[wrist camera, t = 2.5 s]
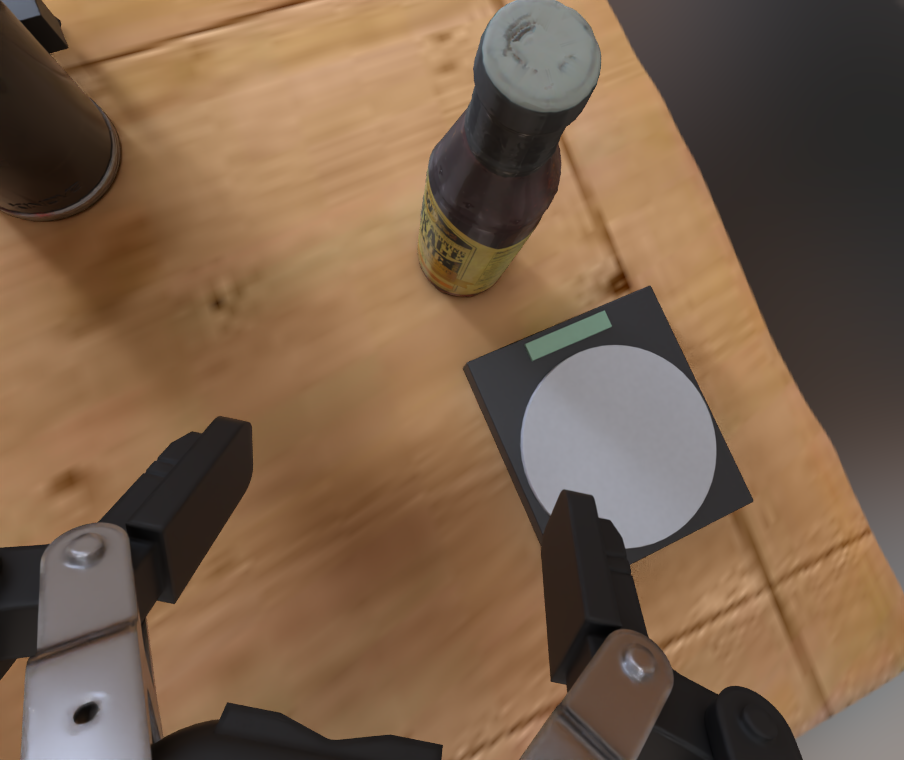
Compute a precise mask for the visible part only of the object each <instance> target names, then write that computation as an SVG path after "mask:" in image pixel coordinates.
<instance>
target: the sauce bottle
mask: <svg viewBox="0 0 904 760" xmlns="http://www.w3.org/2000/svg"><path fill="white" fill-rule="evenodd" d="M600 69H601V52H600V48H599V45H598V43H597V41H596V39H595V36H594V33H593V31H592V29H591V27H590V25H589V24H588V23H587V21H586V20H585V19H584V18H583V17H582V16H581V15H580V14H579V13H578V12H577V11H575V10H574V9H572V8H569V7H567V6H565V5H563V4H562V3H560V2H558V1H556V0H516V1H514V2H511V3H509V4H506V5H505V6H504V7H503V8H501V9H500V10H499V11H498V12H497V13H496V14H495V15H494V17H493V18H492V19H491V20H490V22H489V23H488V25H487V27H486V29H485V31H484V33H483V34H482V36H481V40H480V44H479V47H478V50H477V54H476V57H475V61H474V67H473V71H474V82H475V87H474V90H473V94H472V99H471V102H470V104H469V106H468V108H467V109H466V110H465V111H464V113H463V114H462V115H461V116H460V117H459V119H458V120H457V121H456V122H455V124H454V125H453V126H452V127H451V128H450V130H449V131H448V132H447V133H446V135H445V136H444V137H443V138H442V139H441V141H440V142H439V143H438V144H437V145H436V146H435V148H434V149H433V151H432V153H431V156H430V159H429V164H428V170H427V174H426V176H427V177H426V185H425V192H424V197H423V203H422V211H421V222H420V229H419V237H418V248H417V249H418V257H419V261H420V265H421V269H422V270H423V272H424V274H425V275H426V277H427V278H428V280H429V281H430V282H431V283H432V284H433V285H434V286H435V287H436V288H437V289H438V290H439V291H441V292H444V293H447V294H450V295H454V296H465V297H469V296H474V295H476V294H478V293H480V292H482V291H484V290H486V289H488V288H490V287H492V286H493V285H494V284H495V283H496V282H497V280H498V279H499V278H500V277H501V275H502V274H503V273H504V271H505V270H506V268H507V267H508V266H509V264H510V263H511V261H512V260H513V259H514V257H515V256H516V255H517V253H518V252H519V251H520V249H521V248H522V246H523V245H524V244H525V242H526V241H527V239H528V238H529V237H530V235H531V234H532V232H533V231H534V230H535V228H536V227H537V225H538V224H539V222H540V220H541V218H542V215H543V214H544V212H545V211H546V210H547V209H548V207H549V205H550V203H551V202H552V200H553V198H554V195H555V194H556V193H557V191H558V185H559V181H560V175H561V155H560V148H559V145H558V142H559V140H560V137H561V135H562V133H563V131H564V130H565V128H566V126H568V125H570V124H571V123H572V122H573V121H574V120H575V119H576V118H577V117H578V115H579V114H580V113H581V112H582V110H583V109H584V107H585V105H586V104H587V102H588V100H589V98H590V96H591V94H592V92H593V90H594V89H595V87H596V85H597V81H598V78H599V75H600Z"/></svg>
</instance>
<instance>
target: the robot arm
mask: <svg viewBox="0 0 904 760" xmlns="http://www.w3.org/2000/svg"><path fill="white" fill-rule="evenodd" d="M67 48H68V45H67V42H66V40H65V37H64V35H63V32H62V30H61V22H60V20H59V19H58V18H56V17H55V16H54V15H53V14H52V13H51V12H50V10H49V9H48V8H47V7H46V5H45V4H44V3H43V2H42V0H0V210H1V211H2V212H4V213H7V214H9V215H11V216H14V217H17V218H21V219H26V220H33V221H50V220H57V219H62V218H66V217H69V216H72V215H74V214H77V213H79V212H81V211H83V210H85V209H86V208H88V207H90V206H91V205H92V204H94V203H95V202H96V201H97V200H98V199H100V198H101V197H102V195H103V194H104V193H105V192H106V191H107V190H108V188H109V187H110V185H111V184H112V182H113V180H114V178H115V176H116V173H117V170H118V167H119V163H120V143H119V138H118V135H117V132H116V130H115V128H114V125H113V124H112V122H111V120H110V119H109V118H108V116H107V115H106V114H105V113H104V112H103V111H102V109H101V108H100V107H99V106H98V105H97V104H96V103H95V102H94V101H93V100H92V99H90V98H89V97H88V96H87V95H86V94H85V93H84V92H83V91H82V89H81V88H80V87H79V86H78V85H77V84H76V83H75V82H74V81H73V79H72V78H71V77H70V76H69V75H68V74H67V72H66V71H65V70H64V69H63V68H62V67H61V66H60V65H59V64H58V63H57V61H56V60H55V59H54V58H53V57H52V56H51V55H50V53H53V52H57V51H60V50H64V49H67ZM252 472H253V448H252V426H251V423H250V422H246V421H242V420H237V419H232V418H227V417H223V416H218V417H217V418H215V419H214V420H213V422H212V423H211V424H210V425H209V426H208V427H207V429H206V430H205V431H204V432H203V433H197V432H190V433H188V434H186V435H185V436H183V437H181V438H179V439H177V440H176V441H174V442H172V443H171V444H170V445H169V446H168V447H167V448H166V449H165V450H164V451H163V453H162V454H161V455H160V456H159V457H158V459H157V461H154V462H153V463H152V464H151V466H150V467H149V468H148V469H147V470H146V473H145V474H144V473H143V474H142V475H141V476H140V477H139V479H138V480H137V481H136V482H135V483H134V484H133V485H132V486H131V487H130V488H129V489H128V490H127V492H126V493H125V494H124V495H123V496H122V497H121V498H120V499H119V500H118V501H117V502H116V503H115V505H114V506H113V507H112V508H111V509H110V510H109V511H108V512H107V513H106V514H105V515H104V516H103V518H102V519H101V520H100V521H98V522H97V523H91V524H86V525H82V526H79V527H76V528H74V529H71V530H69V531H67V532H65V533H64V534H62V535H61V536H59V537H58V538H56V539H55V540H54V541H53V542H52V543H51V544H46V545H34V546H19V547H4V548H0V680H1V679H2V677H3V676H4V675H5V673H6V672H7V671H8V670H9V668H10V667H11V666H12V664H13V663H14V662H15V661H16V659H17V658H23V657H30V658H29V659H28V662H27V666H26V673H25V689H24V706H23V724H22V742H21V759H20V760H441V758H442V748H443V745H440V744H435V743H430V742H425V741H420V740H415V739H410V738H405V737H400V736H395V735H382V736H372V737H362V738H352V739H343V740H330V739H327V738H325V737H323V736H322V735H320V734H318V733H316V732H314V731H312V730H311V729H309V728H307V727H305V726H303V725H302V724H300V723H298V722H296V721H294V720H292V719H291V718H289V717H287V716H285V715H283V714H282V713H278V712H273V711H268V710H263V709H258V708H253V707H248V706H243V705H238V704H233V703H228V702H227V704H226V706H225V709H224V711H223V713H222V715H221V717H220V719H219V720H211V721H206V722H202V723H198V724H194V725H192V726H189V727H186V728H183V729H181V730H179V731H176V732H174V733H172V734H170V735H168V736H166V737H163V730H162V724H161V718H160V713H159V707H158V701H157V694H156V686H155V679H154V671H153V663H152V655H151V648H150V640H149V632H148V624H147V618H146V616H147V614H148V613H149V611H150V610H151V608H152V607H153V605H154V604H155V602H156V601H162V602H167V603H172V604H175V603H176V601H177V600H178V598H179V596H180V595H181V593H182V592H183V590H184V589H185V587H186V585H187V584H188V582H189V581H190V579H191V577H192V576H193V574H194V573H195V571H196V570H197V568H198V566H199V565H200V563H201V562H202V560H203V558H204V557H205V555H206V554H207V552H208V551H209V549H210V547H211V546H212V544H213V543H214V541H215V539H216V538H217V536H218V535H219V533H220V532H221V530H222V528H223V527H224V525H225V524H226V522H227V521H228V519H229V517H230V516H231V514H232V513H233V511H234V509H235V508H236V506H237V505H238V503H239V502H240V500H241V498H242V497H243V495H244V494H245V492H246V490H247V488H248V486H249V483H250V480H251V477H252ZM541 559H542V572H543V585H544V598H545V611H546V624H547V638H548V651H549V664H550V677H551V682H555V683H560V684H565V685H567V695H566V696H565V698H564V699H563V700H562V702H561V703H560V704H559V705H558V706H557V707H556V708H555V710H554V711H553V712H552V714H551V715H550V717H549V718H548V719H547V721H546V722H545V724H544V725H543V726H542V728H541V729H540V731H539V732H538V734H537V735H536V736H535V738H534V739H533V741H532V742H531V743H530V745H529V746H528V748H527V749H526V751H525V752H524V753H523V755H522V756H521V758H520V759H519V760H803V759H802V756H801V754H800V751H799V749H798V746H797V743H796V741H795V738H794V736H793V733H792V731H791V729H790V727H789V726H788V724H787V722H786V721H785V719H784V718H783V716H782V715H781V714H780V713H779V711H778V710H777V709H776V708H775V707H774V706H773V705H772V704H771V703H770V702H769V701H767V700H766V699H765V698H764V697H762V696H761V695H759V694H758V693H756V692H754V691H752V690H750V689H747V688H744V687H740V686H730V687H727V688H725V689H723V690H722V691H721V693H720V694H719V695H718V694H716V693H714V692H712V691H710V690H708V689H706V688H705V687H703V686H701V685H699V684H697V683H695V682H693V681H691V680H689V679H687V678H686V677H684V676H682V675H680V674H679V673H677V672H676V671H675V670H673V669H672V667H671V665H670V662H669V660H668V659H667V657H666V655H665V654H664V652H663V651H662V650H661V649H660V648H659V646H658V645H657V644H656V643H654V642H653V641H652V640H651V639H649V637H648V634H647V631H646V627H645V623H644V619H643V615H642V611H641V608H640V604H639V600H638V596H637V592H636V588H635V584H634V580H633V577H632V576H631V569H630V565H629V561H628V560H627V553H626V549H625V545H624V542H623V538H622V536H621V535H620V533H619V532H618V530H617V529H616V528H615V526H614V525H613V523H612V522H611V520H608V519H604V518H599V517H598V512H597V507H596V503H595V499H594V497H593V495H590V494H585V493H580V492H575V491H571V490H566V489H563V490H562V491H561V492H560V494H559V497H558V499H557V501H556V504H555V506H554V508H553V511H552V513H551V516H550V518H549V520H548V523H547V525H546V527H545V530H544V533H543V538H542V545H541Z"/></svg>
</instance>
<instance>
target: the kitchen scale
mask: <svg viewBox="0 0 904 760" xmlns="http://www.w3.org/2000/svg"><path fill="white" fill-rule="evenodd" d="M463 370H464V372H465V374H466V377H467V379H468V381H469V383H470V386H471V388H472V390H473V392H474V395H475V397H476V399H477V401H478V404H479V406H480V408H481V411H482V413H483V415H484V417H485V420H486V422H487V424H488V426H489V429H490V431H491V433H492V436H493V438H494V440H495V442H496V445H497V447H498V449H499V451H500V454H501V456H502V458H503V460H504V463H505V465H506V467H507V470H508V472H509V474H510V476H511V479H512V481H513V483H514V485H515V488H516V490H517V492H518V495H519V497H520V499H521V501H522V504H523V506H524V508H525V510H526V513H527V515H528V517H529V519H530V522H531V524H532V526H533V529H534V531H535V533H536V535H537V538H538V540H539V542H540V544H541V545H542V538H543V533H544V530H545V527H546V525H547V523H548V520H549V518H550V516H551V513H552V511H553V508H554V506H555V504H556V501H557V499H558V497H559V494H560V492H561V491H562V490H563V489H566V490H571V491H575V492H580V493H585V494H590V495H593V497H594V499H595V503H596V507H597V512H598V517H599V518H604V519H608V520H611V522H612V523H613V525H614V526H615V528H616V529H617V530H618V532H619V533H620V535H621V536H622V538H623V542H624V545H625V549H626V553H627V560H628V561H629V565H630V564H632V563H634V562H636V561H638V560H640V559H642V558H644V557H646V556H648V555H650V554H652V553H654V552H656V551H658V550H660V549H662V548H664V547H666V546H668V545H669V544H671V543H673V542H675V541H677V540H679V539H681V538H683V537H685V536H687V535H689V534H691V533H693V532H695V531H697V530H699V529H701V528H703V527H705V526H707V525H709V524H711V523H712V522H714V521H716V520H718V519H720V518H722V517H724V516H726V515H728V514H730V513H732V512H734V511H736V510H738V509H740V508H742V507H744V506H746V505H748V504H750V503H752V502H753V498H752V496H751V494H750V492H749V490H748V488H747V486H746V484H745V482H744V480H743V477H742V475H741V473H740V471H739V469H738V467H737V465H736V463H735V461H734V459H733V457H732V454H731V452H730V450H729V448H728V446H727V444H726V442H725V440H724V438H723V436H722V434H721V431H720V429H719V427H718V425H717V423H716V421H715V419H714V417H713V415H712V413H711V411H710V409H709V406H708V404H707V402H706V400H705V398H704V396H703V394H702V392H701V390H700V388H699V386H698V383H697V381H696V379H695V377H694V375H693V373H692V371H691V369H690V367H689V365H688V363H687V360H686V358H685V356H684V354H683V352H682V350H681V348H680V346H679V344H678V342H677V340H676V338H675V335H674V333H673V331H672V329H671V327H670V325H669V323H668V321H667V319H666V317H665V315H664V312H663V310H662V308H661V306H660V304H659V302H658V300H657V298H656V296H655V294H654V292H653V289H652V287H651V286H647V287H645V288H643V289H640V290H638V291H635V292H633V293H631V294H628V295H626V296H624V297H621V298H619V299H617V300H614V301H612V302H609V303H607V304H605V305H602V306H600V307H598V308H595V309H593V310H590V311H588V312H586V313H583V314H581V315H579V316H576V317H574V318H571V319H569V320H567V321H564V322H562V323H560V324H557V325H555V326H552V327H550V328H548V329H545V330H543V331H541V332H538V333H536V334H533V335H531V336H529V337H526V338H524V339H522V340H519V341H517V342H514V343H512V344H510V345H507V346H505V347H503V348H500V349H498V350H495V351H493V352H491V353H488V354H486V355H484V356H481V357H479V358H476V359H474V360H472V361H469V362H467V363H466V365H465V366H464V367H463Z"/></svg>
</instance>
